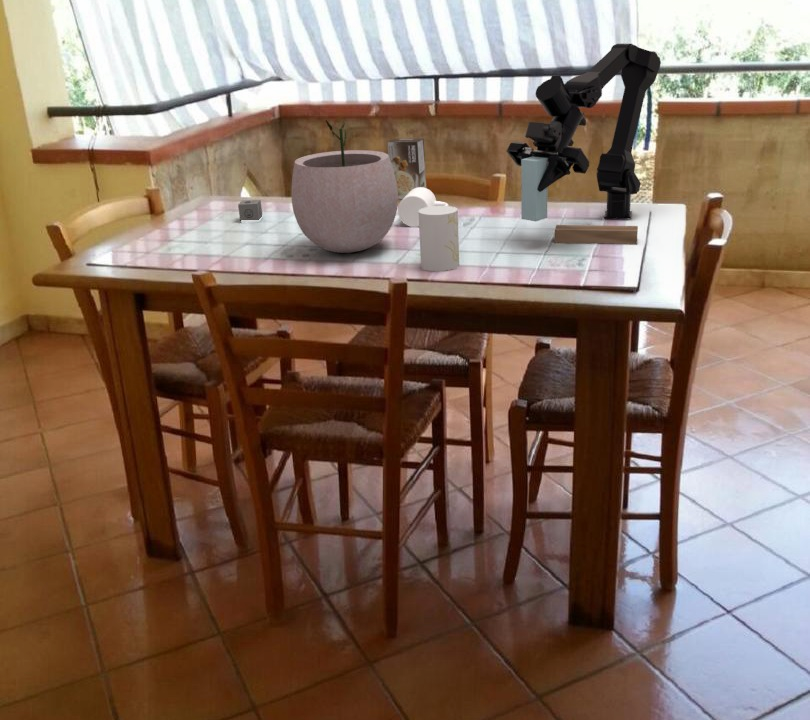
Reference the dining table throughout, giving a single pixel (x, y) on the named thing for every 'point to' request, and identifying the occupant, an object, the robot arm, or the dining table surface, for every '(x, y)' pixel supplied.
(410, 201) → the mug
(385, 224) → the plant pot
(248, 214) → the dice cube
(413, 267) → the dining table surface
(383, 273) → the dining table surface
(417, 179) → the coffee box
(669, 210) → the dining table surface
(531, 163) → the post
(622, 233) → the beam
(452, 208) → the white cylinder
